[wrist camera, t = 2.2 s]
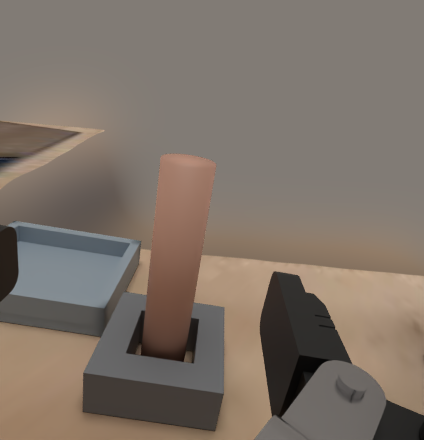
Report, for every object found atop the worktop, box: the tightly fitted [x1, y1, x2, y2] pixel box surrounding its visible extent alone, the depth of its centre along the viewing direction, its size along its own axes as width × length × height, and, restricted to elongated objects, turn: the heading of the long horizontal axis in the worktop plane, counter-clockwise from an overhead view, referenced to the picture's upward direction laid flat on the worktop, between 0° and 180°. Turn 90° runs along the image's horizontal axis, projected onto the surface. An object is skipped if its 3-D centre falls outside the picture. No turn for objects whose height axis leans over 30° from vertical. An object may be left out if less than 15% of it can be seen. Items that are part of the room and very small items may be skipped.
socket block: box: [83, 292, 224, 431], centre depth 26 cm, size 9×9×4 cm
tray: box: [0, 221, 141, 336], centre depth 34 cm, size 15×13×3 cm
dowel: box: [141, 154, 216, 362], centre depth 24 cm, size 3×3×17 cm
